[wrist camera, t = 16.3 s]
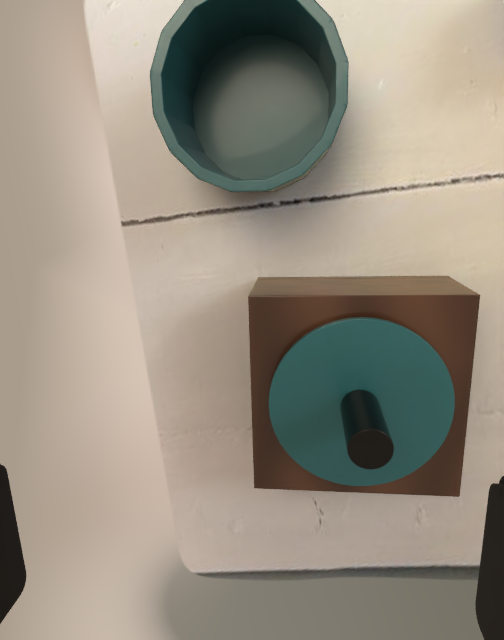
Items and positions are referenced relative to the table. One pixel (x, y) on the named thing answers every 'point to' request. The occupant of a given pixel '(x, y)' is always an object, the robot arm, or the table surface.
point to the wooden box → (348, 302)
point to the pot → (249, 90)
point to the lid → (361, 401)
